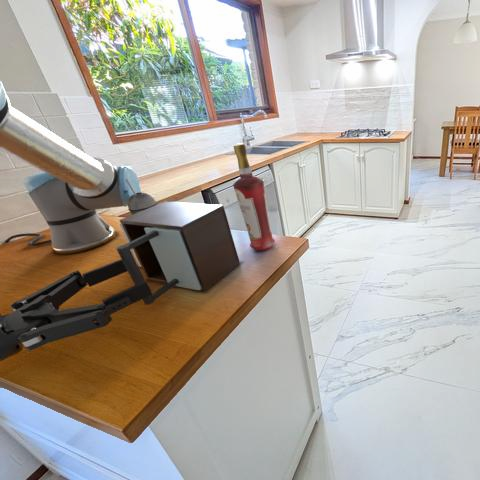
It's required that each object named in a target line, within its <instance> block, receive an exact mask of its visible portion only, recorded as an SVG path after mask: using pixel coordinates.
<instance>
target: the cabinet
mask: <svg viewBox="0 0 480 480" xmlns="http://www.w3.org/2000/svg"><path fill="white" fill-rule="evenodd" d="M119 223H120V224H121V225H122V227H123V229H124V231H125V233H126V235H127V237H128V239H129V241H130V242H131V241H133V240H135V239H137V238H139V237H141V236H143V235H146V232H145V230H144V228H146V227H149V228H158V229H167V230H175V231H180V234H181V237H182V239H183V242H184V244H185V247H186V250H187V252H188V255H189V258H190V260H191V263H192V266H193V268H194V271H195V273H196V276H197V279H198V281H199V284H200V287H201V290H200V291H203V292H207V291H208V290H209V289H210V288H212V287H213V286H214V285H215V284H216V283H218V282H219V281H220V280H221V279H222V278H224V277H225V276H226V275H228V274H229V273H230V272H232V270H234V269H235V268H236V267H237V266H239V265H240V264H241V262H240V259H239V255H238V251H237V248H236V245H235V241H234V238H233V233H232V230H231V227H230V224H229V220H228V217H227V213H226V210H225V206H224V205H223V204H211V203H198V202H183V201H170V200H165V201H162V202H161V203H157V205H155V206H153V207H150V208H148V209H145V210H143V211H141V212H138V213H136V214H133V215H132V214H130V215H129V216H126V217H123V218H121V219H119ZM133 250H134V252H135V254H136V256H137V258H138V260H139V262H140V264H141V266H142V267H141V268H142V271H143V273H144V275H145V277H146V279H147V280H148V281H151V282H156V283H160V284H165V285H166V284H167V283H168V282H167V280H166V277H165V275H164V273H163V270H162V268H161V266H160V264H159V261H158V259H157V257H156V255H155V252H154V250H153V248H152V246H151V243H150V241H149V240H148V241H146V242H144V243H142V244H140V245H139V246H137V247H135V248H133Z"/></svg>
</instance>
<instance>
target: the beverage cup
mask: <svg viewBox="0 0 480 480" xmlns="http://www.w3.org/2000/svg"><path fill="white" fill-rule="evenodd" d="M125 180H126V181H127V183H128V185H129V187H130V188H131V190H132V192H133V193H134V194H133V195H132V196H131V197H130V198H129V200H128V206H127V208H128V211H129V212H130V215H133V214H136V213H138V212H141V211H143V210H145V209H148V208H150V207H153V206H155V205H158V202H157V200H156V199H155V198H154V197H153V196H152V195H151V194H148V193H146V192H139V193H135V191H134V189H133V188H132V186H131V184H130V183H129V181H128V179H125Z"/></svg>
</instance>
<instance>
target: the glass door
mask: <svg viewBox="0 0 480 480" xmlns="http://www.w3.org/2000/svg"><path fill="white" fill-rule="evenodd" d="M144 230H145V232H146V235H143V236H141V237H139V238H137V239H135V240H133V241H131V242H129V243H128V242H127V243H125V244H121V245H119V246H117V247H116V252H117V253H118V256H119V257H120V259H121V260H122V261H123V263H124V265H125V267H126V269H127V273H128V275H129V278H130V279H131V281H132V282H133V283H132V284H133V286H135V285H137V284H139V283H141V282H143V281H146V279H145V277H144V276H143V274H142V271H141V269H140V267H139V265H138V263H137V260H136V258H135V256H134V254H133V252H132V250H131V249H133V248H135V247H137V246H139V245H140V244H142V243H144V242H146V241H148V240H149V241H150V243H151V246H152V248H153V250H154V252H155V255H156V257H157V259H158V261H159V264H160V266H161V268H162V270H163V273H164V275H165V277H166V280H167V282H168V283H167V284H166V283H165V284H164V285H162V286H161V287H160V288H158V289H157V290H155V291H154V292H152V295H150V296H148V297H146V298H144V299H142V300H141V301H142V303H143V304H144V305H145V306H148V305H151V304H153V303H155V301H156V299H158V298H160V297H161V296H163V295H164V294H165V293H167V292H168V291H170V290H172V288H174V287H180V288H184V289H189V290H195V291H202V290H201V287H200V284H199V281H198V279H197V276H196V273H195V271H194V268H193V266H192V263H191V260H190V258H189V255H188V252H187V250H186V247H185V244H184V242H183V239H182V237H181V234H180V231H175V230H167V229H158V228H149V227H146V228H144Z"/></svg>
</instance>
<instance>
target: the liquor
mask: <svg viewBox="0 0 480 480" xmlns="http://www.w3.org/2000/svg"><path fill="white" fill-rule="evenodd" d="M233 151H234V153H235V156H236V159H237V165H238V171H239V177H238V178H236V179H235V181H233V183H232V186H233V187H232V188H233V189H234V193H235V197H236V199H237V202H238V206H239V208H240V212H241V215H242V218H243V221H244V224H245V227H246V231H247V234H248V239H249V241H250V243H249V247H250V248H251V249H253V250H256V251H257V252H263V251H264V252H265V251H267V250H269V249H271V248H272V247H273V246H274V244H275V242H276V240H275V238H274V237H273V232H272V228H271V222H270V216H269V209H268V201H267V197H266V191H265V185H264V179H263V178H261V177H260V176H258V175H254V174H253V172H252V169H251V165H250V162H249V159H248V155H247V153H248V152H247V147H246V143H244V142H241V143H235V144H233Z"/></svg>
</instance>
